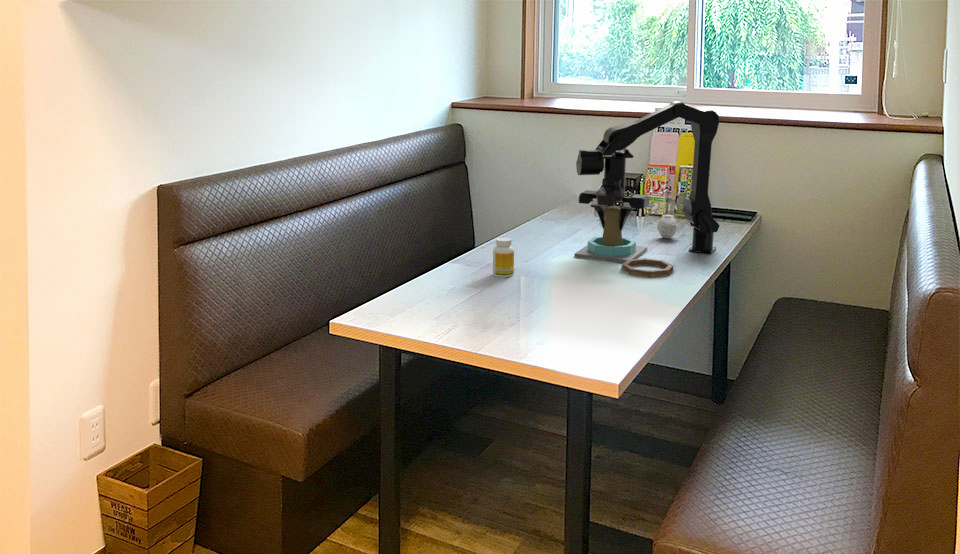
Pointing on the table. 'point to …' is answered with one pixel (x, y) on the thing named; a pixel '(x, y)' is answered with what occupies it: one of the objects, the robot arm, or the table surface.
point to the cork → (612, 227)
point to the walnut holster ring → (647, 273)
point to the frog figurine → (667, 226)
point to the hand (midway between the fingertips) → (612, 229)
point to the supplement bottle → (503, 258)
